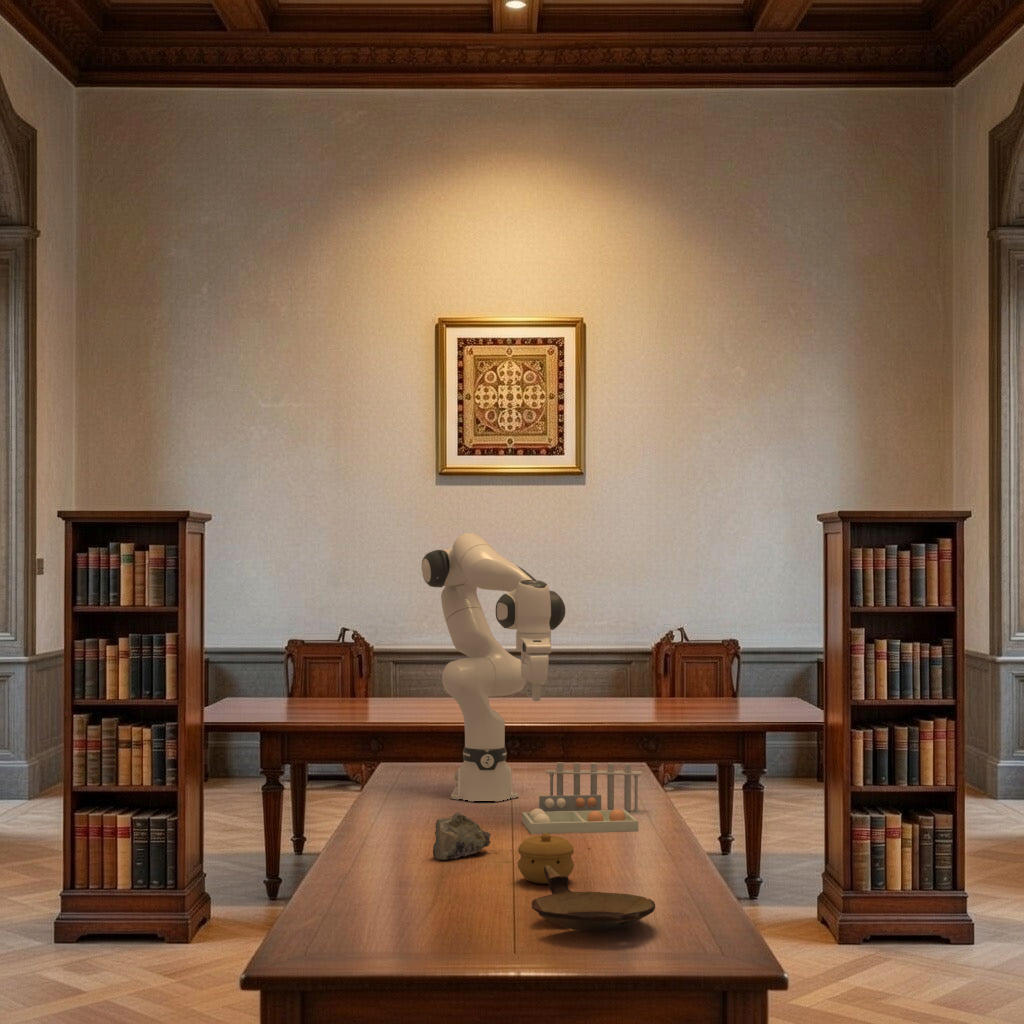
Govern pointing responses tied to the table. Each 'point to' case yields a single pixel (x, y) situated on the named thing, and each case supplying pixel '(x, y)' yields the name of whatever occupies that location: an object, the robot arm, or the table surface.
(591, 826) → the twin dish
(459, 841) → the mineral rock
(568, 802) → the card
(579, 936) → the table surface
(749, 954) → the table surface
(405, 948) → the table surface
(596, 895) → the frying pan
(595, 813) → the terracotta ball
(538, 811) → the ivory ball
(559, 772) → the test tube rack
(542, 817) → the ivory ball
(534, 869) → the pot
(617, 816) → the terracotta ball
